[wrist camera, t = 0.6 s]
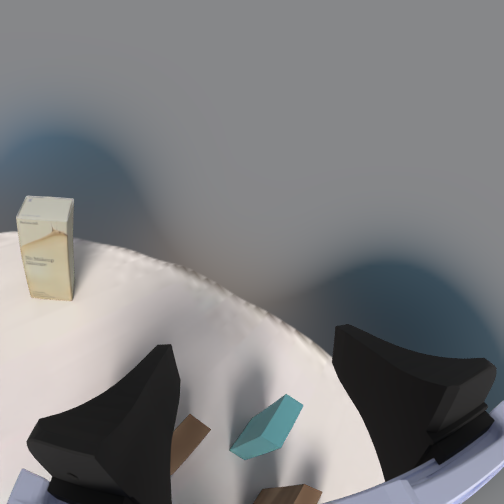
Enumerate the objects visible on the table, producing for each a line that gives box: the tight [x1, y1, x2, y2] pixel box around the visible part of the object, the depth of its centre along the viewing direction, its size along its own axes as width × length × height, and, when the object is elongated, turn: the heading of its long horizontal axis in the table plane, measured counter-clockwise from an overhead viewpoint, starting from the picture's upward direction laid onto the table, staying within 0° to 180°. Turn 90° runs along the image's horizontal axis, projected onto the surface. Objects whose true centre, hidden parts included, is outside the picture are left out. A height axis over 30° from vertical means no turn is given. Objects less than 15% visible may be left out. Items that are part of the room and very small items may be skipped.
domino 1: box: [170, 414, 211, 475], centre depth 17 cm, size 2×5×8 cm, turn 149°
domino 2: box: [229, 394, 303, 460], centre depth 22 cm, size 2×5×8 cm, turn 149°
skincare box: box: [16, 196, 75, 301], centre depth 24 cm, size 6×4×12 cm
